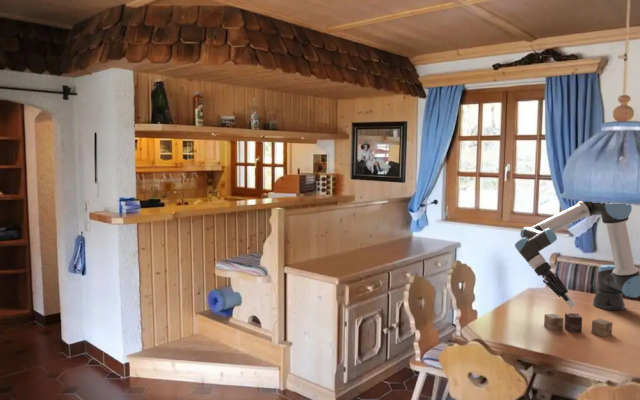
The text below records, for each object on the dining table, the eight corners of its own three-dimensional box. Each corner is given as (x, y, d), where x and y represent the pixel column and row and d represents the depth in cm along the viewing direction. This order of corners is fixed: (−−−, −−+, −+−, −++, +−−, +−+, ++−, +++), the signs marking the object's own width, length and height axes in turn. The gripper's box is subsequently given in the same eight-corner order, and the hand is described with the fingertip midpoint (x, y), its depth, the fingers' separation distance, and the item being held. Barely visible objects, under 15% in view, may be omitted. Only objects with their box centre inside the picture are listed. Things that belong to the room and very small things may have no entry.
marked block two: (555, 325, 241) (556, 313, 241) (562, 330, 235) (563, 317, 235) (544, 326, 241) (544, 313, 240) (550, 330, 235) (551, 318, 234)
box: (581, 332, 232) (582, 317, 231) (568, 331, 233) (568, 317, 233) (577, 328, 238) (578, 313, 237) (564, 327, 239) (564, 312, 239)
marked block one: (599, 330, 235) (599, 318, 235) (611, 334, 230) (612, 322, 229) (591, 332, 232) (592, 320, 232) (603, 337, 227) (604, 324, 226)
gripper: (539, 267, 252) (572, 307, 241) (528, 272, 243) (561, 313, 233) (551, 259, 247) (584, 299, 237) (540, 263, 238) (574, 304, 228)
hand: (573, 305), depth 235 cm, fingers closed
